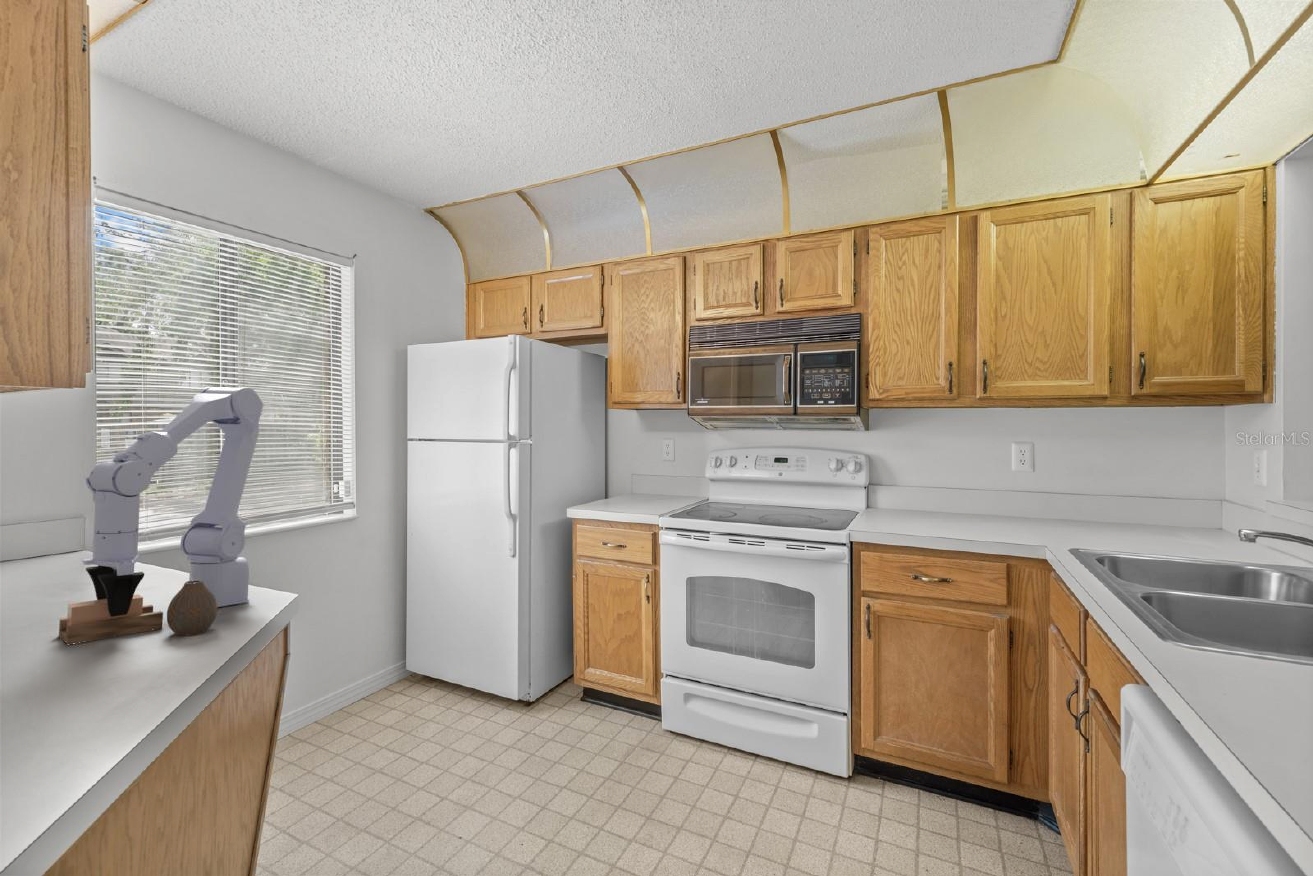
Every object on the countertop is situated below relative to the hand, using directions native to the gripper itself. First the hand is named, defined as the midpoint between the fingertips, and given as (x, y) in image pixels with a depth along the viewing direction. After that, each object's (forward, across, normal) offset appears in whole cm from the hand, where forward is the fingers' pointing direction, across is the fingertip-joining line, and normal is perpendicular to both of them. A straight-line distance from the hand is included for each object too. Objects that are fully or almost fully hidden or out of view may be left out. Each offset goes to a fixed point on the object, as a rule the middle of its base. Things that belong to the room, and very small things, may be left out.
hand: (112, 610), depth 102 cm
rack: (+4, 0, 0) cm, 4 cm away
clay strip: (+3, 0, -1) cm, 3 cm away
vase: (+4, +9, +9) cm, 13 cm away
